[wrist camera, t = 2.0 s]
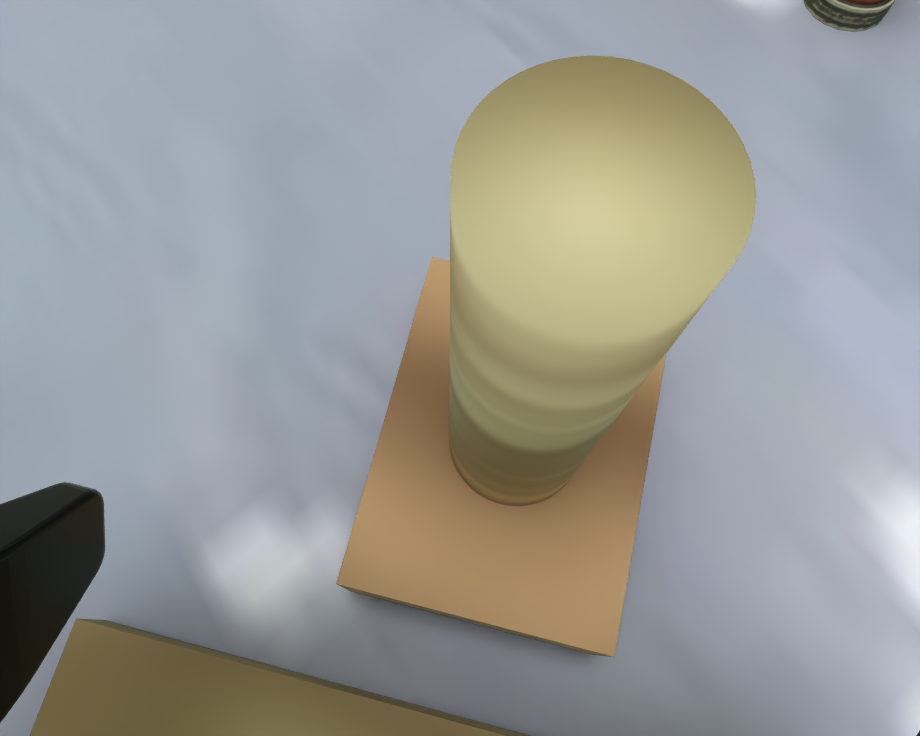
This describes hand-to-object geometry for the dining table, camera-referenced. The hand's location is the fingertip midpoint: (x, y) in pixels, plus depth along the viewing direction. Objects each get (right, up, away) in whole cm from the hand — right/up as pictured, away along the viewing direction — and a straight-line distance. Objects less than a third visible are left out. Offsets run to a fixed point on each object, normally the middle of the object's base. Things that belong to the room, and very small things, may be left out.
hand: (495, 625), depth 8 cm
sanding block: (+1, 0, +12) cm, 12 cm away
